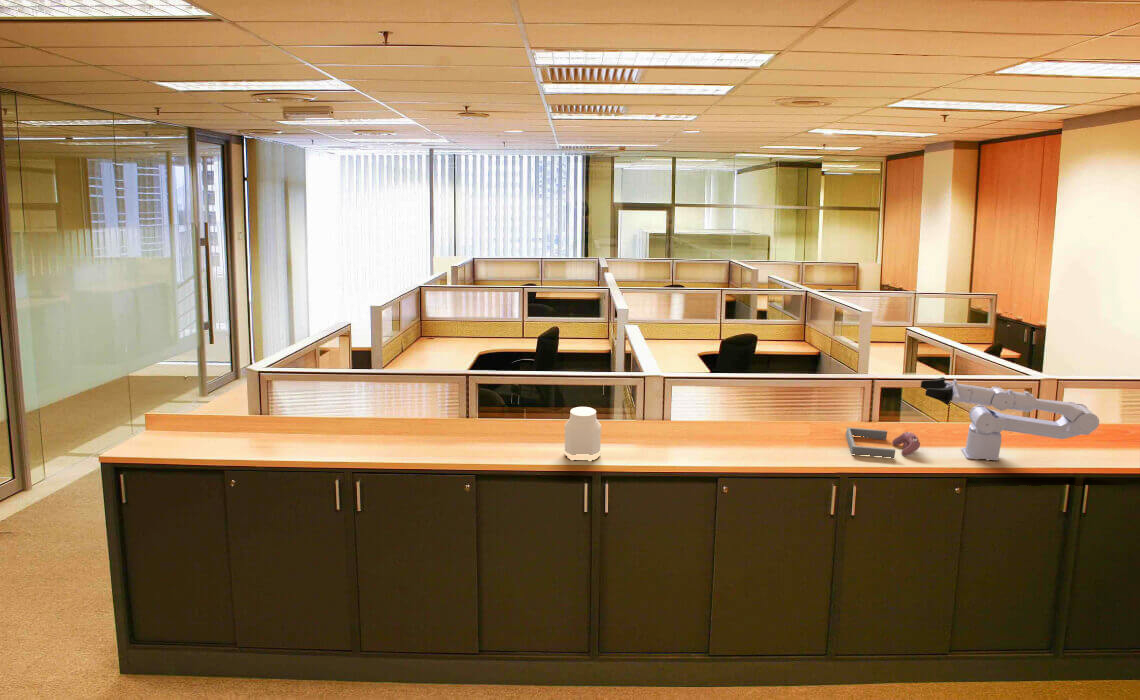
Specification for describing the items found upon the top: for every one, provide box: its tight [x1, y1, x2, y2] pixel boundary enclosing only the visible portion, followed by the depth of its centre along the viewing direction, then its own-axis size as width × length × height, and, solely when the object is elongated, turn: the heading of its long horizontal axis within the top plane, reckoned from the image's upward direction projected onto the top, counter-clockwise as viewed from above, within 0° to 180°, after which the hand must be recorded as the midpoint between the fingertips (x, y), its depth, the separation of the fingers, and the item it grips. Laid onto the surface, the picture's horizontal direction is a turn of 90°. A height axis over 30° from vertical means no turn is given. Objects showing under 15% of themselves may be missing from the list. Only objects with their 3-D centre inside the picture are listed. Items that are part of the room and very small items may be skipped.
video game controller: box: [891, 431, 921, 456], centre depth 267 cm, size 10×5×7 cm, turn 179°
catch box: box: [845, 426, 896, 459], centre depth 269 cm, size 13×17×3 cm
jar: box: [564, 406, 602, 455], centre depth 259 cm, size 12×10×15 cm
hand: (923, 387), depth 262 cm, fingers open, 7 cm apart
